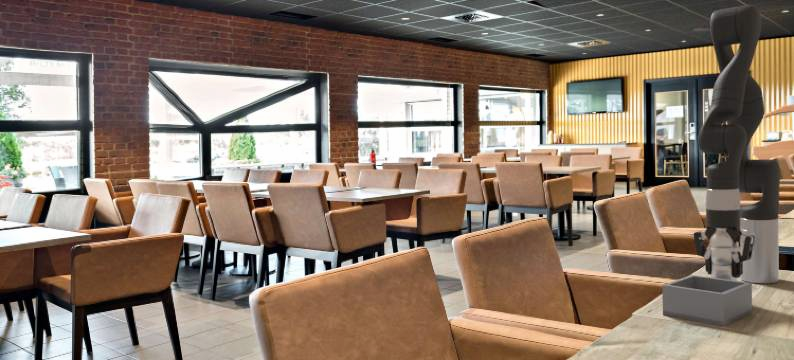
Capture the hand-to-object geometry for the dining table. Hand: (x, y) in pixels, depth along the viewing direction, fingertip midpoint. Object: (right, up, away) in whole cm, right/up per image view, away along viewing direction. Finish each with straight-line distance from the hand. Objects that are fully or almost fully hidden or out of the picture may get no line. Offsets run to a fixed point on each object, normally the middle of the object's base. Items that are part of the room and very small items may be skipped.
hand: (723, 275), depth 164 cm
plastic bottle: (0, -7, 0) cm, 7 cm away
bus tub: (-8, -8, -9) cm, 15 cm away
